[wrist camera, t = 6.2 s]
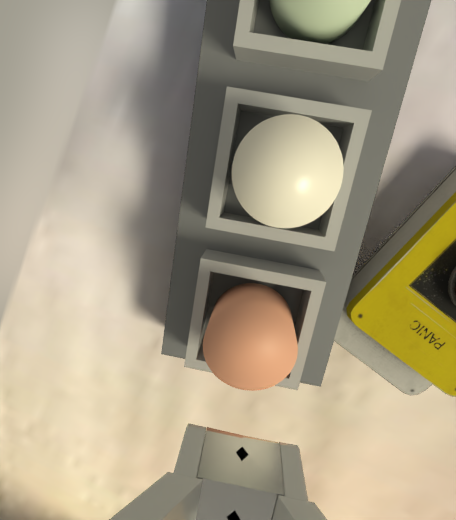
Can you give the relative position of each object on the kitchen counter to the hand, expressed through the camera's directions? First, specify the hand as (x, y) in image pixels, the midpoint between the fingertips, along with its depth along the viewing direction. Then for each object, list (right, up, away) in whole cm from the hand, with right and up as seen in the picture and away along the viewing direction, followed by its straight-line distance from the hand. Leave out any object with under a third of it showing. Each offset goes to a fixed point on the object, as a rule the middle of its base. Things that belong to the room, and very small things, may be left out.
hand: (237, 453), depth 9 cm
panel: (+3, +11, +11) cm, 16 cm away
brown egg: (+1, +2, +10) cm, 10 cm away
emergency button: (+14, +4, +13) cm, 19 cm away
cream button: (+2, +9, +7) cm, 12 cm away
